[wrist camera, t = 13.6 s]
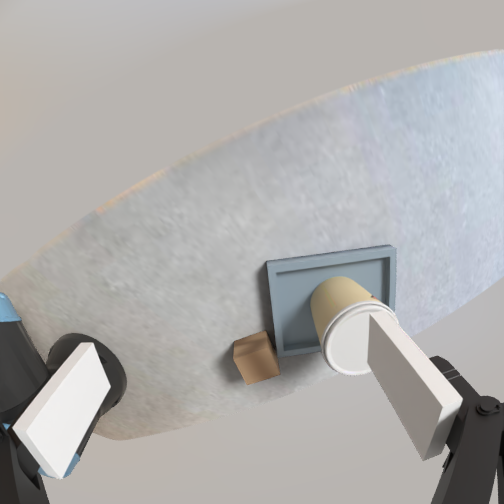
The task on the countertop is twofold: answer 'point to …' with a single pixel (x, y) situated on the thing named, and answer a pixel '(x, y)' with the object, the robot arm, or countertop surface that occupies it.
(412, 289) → the countertop surface
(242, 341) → the walnut block
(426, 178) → the countertop surface
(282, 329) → the collection tray
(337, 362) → the coffee cup
